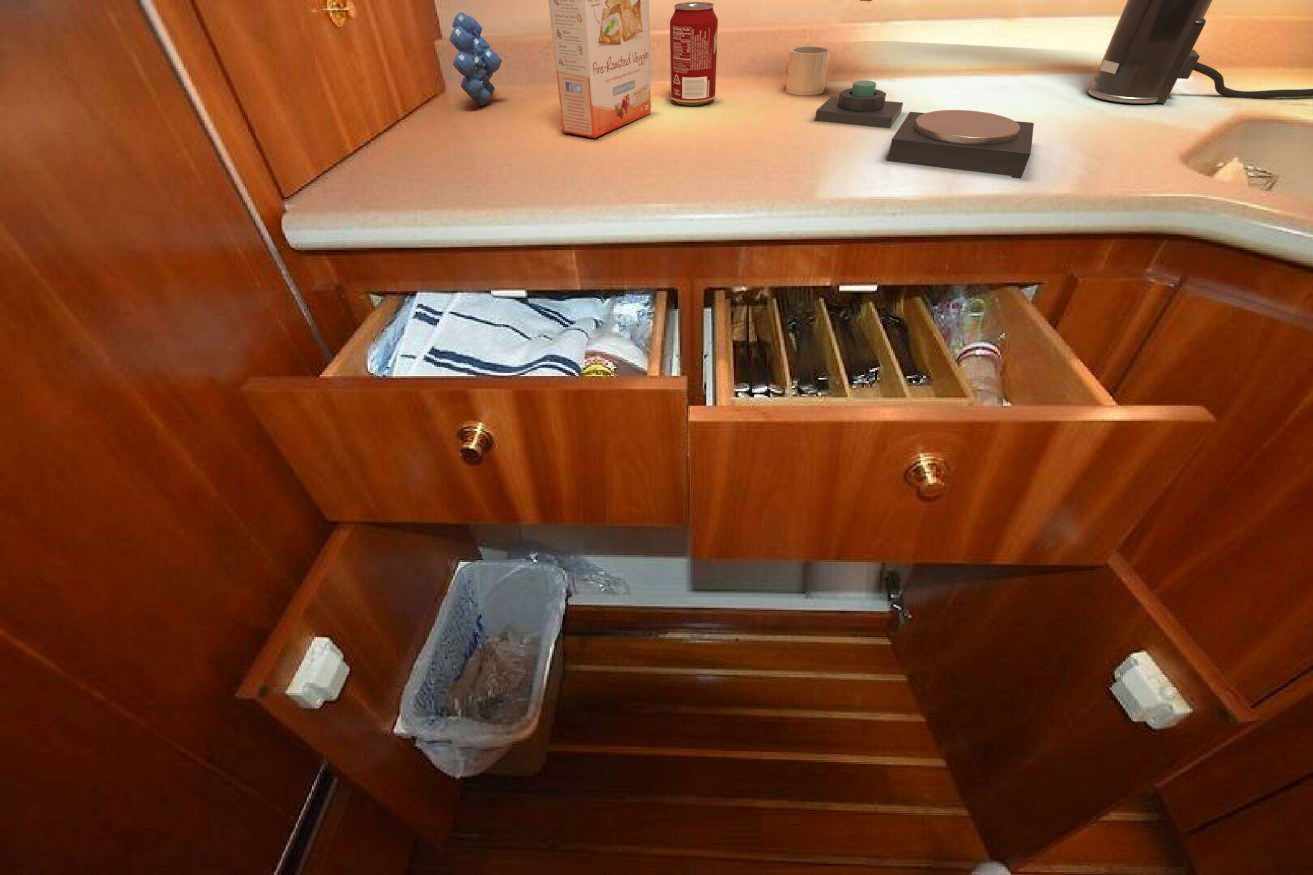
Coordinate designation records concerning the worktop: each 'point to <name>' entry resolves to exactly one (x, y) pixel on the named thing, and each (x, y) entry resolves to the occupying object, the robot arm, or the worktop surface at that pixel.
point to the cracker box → (601, 63)
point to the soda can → (693, 53)
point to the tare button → (863, 88)
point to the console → (860, 110)
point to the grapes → (474, 58)
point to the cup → (807, 70)
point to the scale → (963, 142)
